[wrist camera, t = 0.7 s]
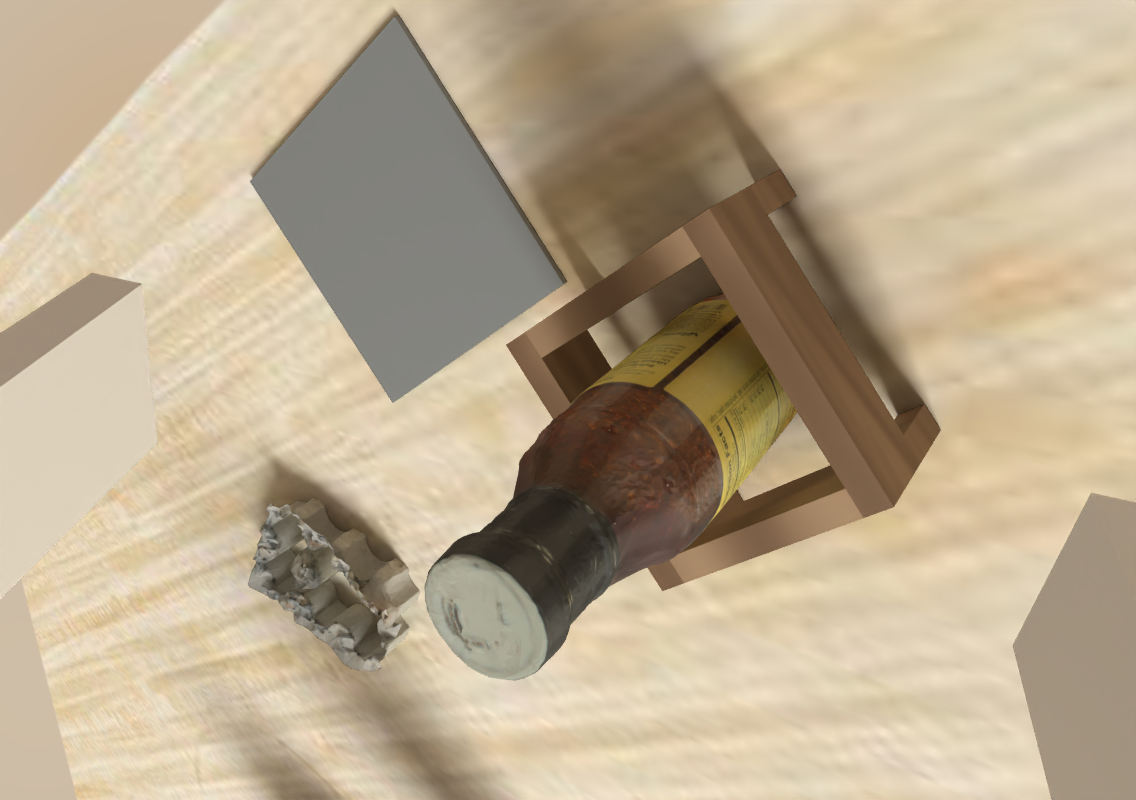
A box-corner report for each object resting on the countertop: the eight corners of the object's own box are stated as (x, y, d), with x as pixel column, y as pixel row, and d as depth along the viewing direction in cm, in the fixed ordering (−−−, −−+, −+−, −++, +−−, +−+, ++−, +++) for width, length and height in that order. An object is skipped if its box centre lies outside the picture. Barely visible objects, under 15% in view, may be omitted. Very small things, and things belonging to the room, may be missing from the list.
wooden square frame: (780, 169, 38) (708, 208, 33) (940, 430, 39) (894, 506, 34) (588, 296, 45) (506, 345, 40) (727, 516, 46) (662, 590, 41)
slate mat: (398, 15, 45) (394, 16, 45) (566, 282, 46) (563, 283, 46) (254, 180, 54) (249, 181, 54) (396, 400, 55) (392, 402, 55)
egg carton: (433, 579, 59) (387, 617, 56) (404, 655, 64) (360, 694, 61) (302, 475, 62) (252, 506, 59) (283, 555, 67) (235, 587, 64)
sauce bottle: (664, 383, 45) (360, 628, 30) (705, 260, 42) (385, 465, 26) (796, 453, 43) (540, 755, 28) (851, 329, 39) (593, 596, 24)
